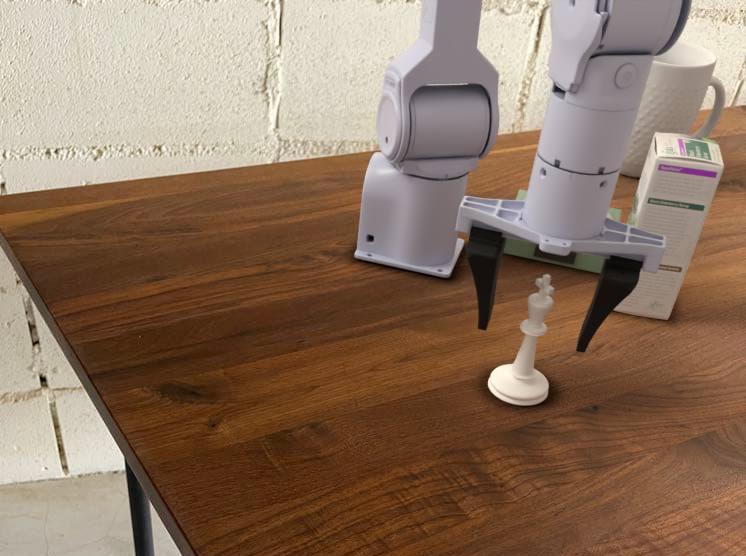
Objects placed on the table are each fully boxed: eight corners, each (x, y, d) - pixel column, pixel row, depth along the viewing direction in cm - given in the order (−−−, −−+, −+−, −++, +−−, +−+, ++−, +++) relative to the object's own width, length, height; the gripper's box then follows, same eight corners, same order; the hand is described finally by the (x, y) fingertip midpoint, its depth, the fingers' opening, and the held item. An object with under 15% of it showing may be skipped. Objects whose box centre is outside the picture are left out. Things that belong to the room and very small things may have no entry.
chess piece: (510, 411, 70) (540, 297, 63) (476, 377, 73) (501, 265, 66) (559, 398, 72) (594, 286, 65) (524, 365, 75) (553, 255, 68)
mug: (678, 148, 114) (717, 36, 104) (722, 185, 106) (768, 67, 97) (572, 149, 110) (602, 33, 101) (609, 187, 103) (645, 65, 94)
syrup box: (669, 322, 82) (730, 164, 72) (605, 310, 82) (657, 153, 72) (666, 292, 86) (723, 139, 76) (605, 281, 87) (653, 128, 76)
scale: (497, 253, 89) (503, 226, 87) (515, 208, 97) (521, 182, 95) (607, 277, 87) (616, 249, 85) (615, 229, 95) (623, 203, 93)
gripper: (461, 158, 58) (430, 339, 67) (687, 202, 55) (622, 383, 65) (481, 122, 62) (449, 296, 72) (689, 161, 60) (628, 335, 70)
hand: (532, 334), depth 69 cm, fingers open, 7 cm apart
